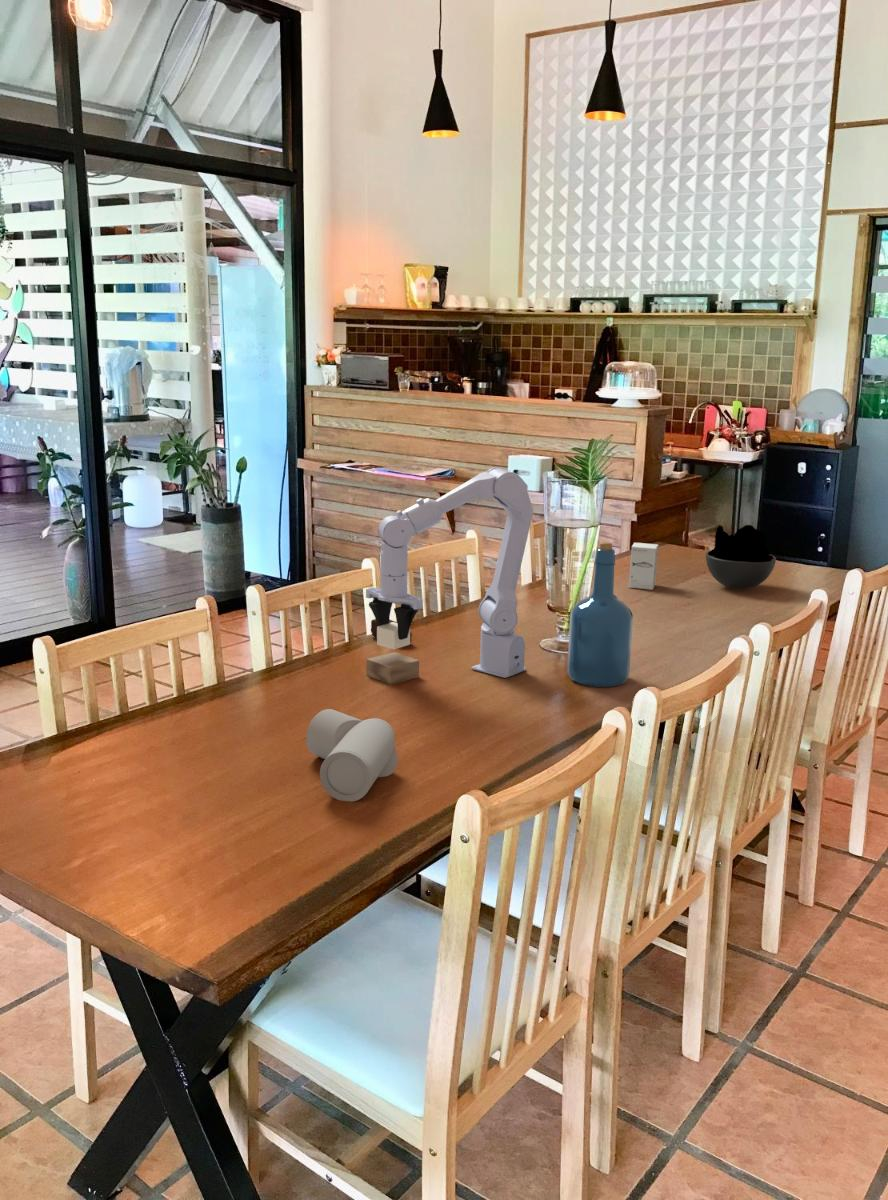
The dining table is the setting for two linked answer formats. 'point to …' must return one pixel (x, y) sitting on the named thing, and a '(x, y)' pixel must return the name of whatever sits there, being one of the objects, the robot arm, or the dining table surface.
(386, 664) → the base
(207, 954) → the dining table surface
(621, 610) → the wine bottle
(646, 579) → the supplement box
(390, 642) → the block
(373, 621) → the brick
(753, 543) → the coal bowl
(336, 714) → the grey cylindrical cross piece
